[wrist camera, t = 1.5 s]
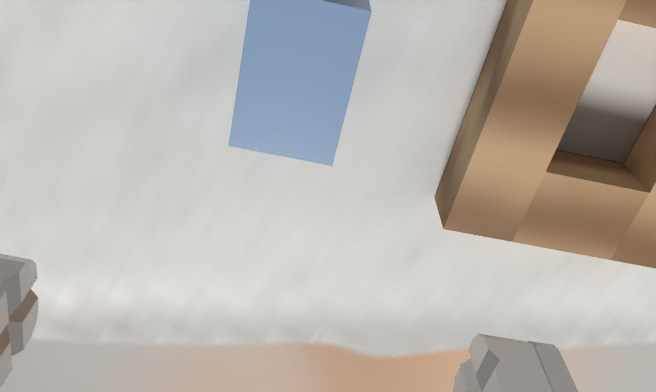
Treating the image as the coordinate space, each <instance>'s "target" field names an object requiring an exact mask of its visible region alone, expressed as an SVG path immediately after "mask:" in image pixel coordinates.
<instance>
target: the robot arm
mask: <svg viewBox="0 0 656 392" xmlns="http://www.w3.org/2000/svg"><path fill="white" fill-rule="evenodd" d="M36 279H37V269H36V263H35V262H34V261H33V260H30V259H25V258H20V257H15V256H9V255H4V254H0V388H1V387H2V385H3V383H4V382H5V380H6V378H7V377H8V375H9V373H10V372H11V370H12V362H11V356H13V355H15V354H17V353H18V352H20V351H22V350H24V348H25V346H26V345H27V343H28V341H29V339H30V338H31V335H32V332H33V329H34V327H35V324H36V320H37V313H38V297H37V296H36V295H35V293H34V292H33V291H32V290H31V287H32V286H33V284H34V282H35V281H36ZM469 352H470V355H471V359H469V360H468V361H466V362H465V363H463V364H461V366H460V368H459V370H458V373H457V375H456V377H455V384H454V390H453V392H578V390H577V388H576V386H575V384H574V382H573V379H572V377H571V375H570V373H569V371H568V369H567V366H566V364H565V362H564V360H563V358H562V356H561V354H560V351H559V350H558V348H556V347H555V346H554V345H551V344H544V343H538V342H531V341H528V342H526V341H521V340H515V339H508V338H502V337H496V336H489V335H483V334H477V335H476V336H475V337H474V338H473V340H472V342H471V344H470V346H469Z"/></svg>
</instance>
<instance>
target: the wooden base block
mask: <svg viewBox="0 0 656 392" xmlns="http://www.w3.org/2000/svg"><path fill="white" fill-rule="evenodd" d="M618 19H619V20H623V21H628V22H632V23H636V24H640V25H645V26H649V27H653V28H656V0H508V1H507V4H506V7H505V9H504V12H503V15H502V17H501V20H500V23H499V26H498V28H497V31H496V34H495V36H494V39H493V42H492V44H491V47H490V50H489V53H488V55H487V58H486V61H485V63H484V66H483V69H482V71H481V74H480V77H479V80H478V82H477V85H476V88H475V90H474V93H473V96H472V98H471V101H470V104H469V107H468V109H467V112H466V115H465V117H464V120H463V123H462V125H461V128H460V131H459V134H458V136H457V139H456V142H455V144H454V147H453V150H452V152H451V155H450V158H449V161H448V163H447V166H446V169H445V171H444V174H443V177H442V179H441V182H440V185H439V187H438V190H437V193H436V196H435V201H436V205H437V208H438V211H439V215H440V218H441V222H442V225H443V229H447V230H452V231H458V232H463V233H468V234H474V235H479V236H484V237H490V238H495V239H501V240H506V241H511V242H517V243H522V244H528V245H533V246H538V247H544V248H549V249H555V250H560V251H565V252H571V253H576V254H582V255H587V256H592V257H598V258H603V259H608V260H614V261H619V262H625V263H630V264H635V265H641V266H646V267H652V268H656V106H655V108H654V110H653V112H652V114H651V115H650V117H649V119H648V121H647V123H646V125H645V126H644V128H643V130H642V132H641V134H640V135H639V137H638V139H637V141H636V143H635V145H634V146H633V148H632V150H631V152H630V154H629V156H628V157H627V159H626V161H625V163H624V164H623V163H618V162H613V161H608V160H603V159H598V158H593V157H588V156H584V155H579V154H574V153H569V152H564V151H559V150H556V149H557V146H558V144H559V142H560V140H561V138H562V136H563V134H564V132H565V130H566V127H567V125H568V123H569V121H570V119H571V117H572V115H573V113H574V111H575V108H576V106H577V104H578V102H579V100H580V98H581V96H582V94H583V92H584V89H585V87H586V85H587V83H588V81H589V79H590V77H591V75H592V73H593V70H594V68H595V66H596V64H597V62H598V60H599V58H600V56H601V53H602V51H603V49H604V47H605V45H606V43H607V41H608V39H609V37H610V34H611V32H612V30H613V28H614V26H615V24H616V22H617V20H618Z"/></svg>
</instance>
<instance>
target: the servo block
mask: <svg viewBox="0 0 656 392" xmlns="http://www.w3.org/2000/svg"><path fill="white" fill-rule="evenodd" d="M370 15H371V8H370V3H369V0H250V5H249V12H248V19H247V26H246V32H245V39H244V46H243V53H242V59H241V66H240V73H239V80H238V86H237V93H236V100H235V107H234V113H233V120H232V127H231V134H230V140H229V146H232V147H237V148H243V149H248V150H253V151H258V152H263V153H268V154H274V155H279V156H284V157H289V158H294V159H299V160H305V161H310V162H315V163H320V164H325V165H330V166H332V164H333V160H334V156H335V152H336V148H337V145H338V141H339V137H340V133H341V129H342V125H343V121H344V117H345V113H346V109H347V105H348V101H349V98H350V94H351V90H352V86H353V82H354V78H355V74H356V70H357V66H358V62H359V58H360V54H361V51H362V47H363V43H364V39H365V35H366V31H367V27H368V23H369V19H370Z"/></svg>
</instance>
